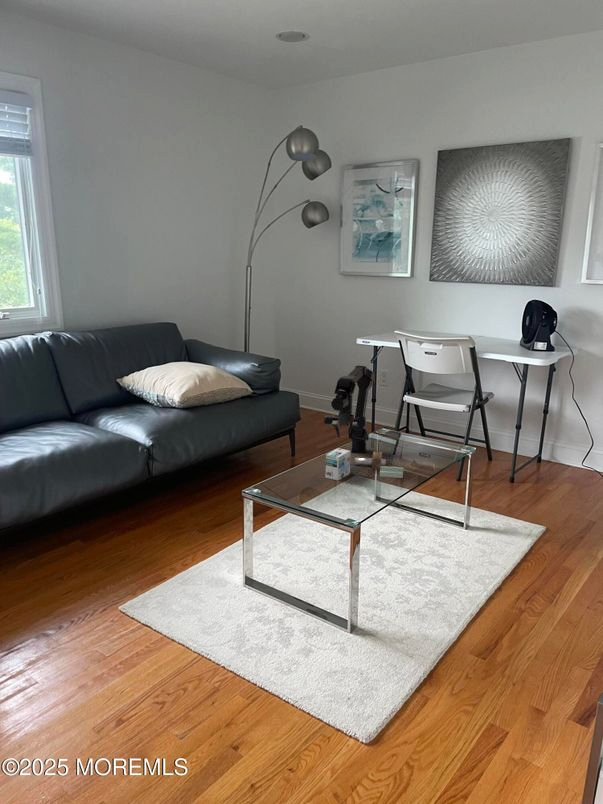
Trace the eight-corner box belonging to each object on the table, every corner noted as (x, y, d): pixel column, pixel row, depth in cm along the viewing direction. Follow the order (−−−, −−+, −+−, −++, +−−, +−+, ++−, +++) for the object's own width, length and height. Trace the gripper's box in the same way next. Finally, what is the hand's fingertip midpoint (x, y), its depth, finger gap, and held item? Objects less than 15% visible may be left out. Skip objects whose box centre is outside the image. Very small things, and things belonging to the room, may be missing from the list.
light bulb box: (338, 481, 261) (338, 457, 259) (324, 477, 265) (325, 454, 262) (350, 473, 270) (351, 450, 267) (337, 470, 274) (338, 447, 271)
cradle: (379, 476, 267) (379, 472, 266) (380, 469, 274) (380, 465, 274) (402, 478, 265) (403, 473, 265) (403, 471, 273) (403, 467, 272)
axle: (354, 466, 280) (354, 460, 279) (355, 461, 283) (355, 455, 281) (385, 468, 278) (385, 462, 276) (385, 464, 281) (386, 457, 279)
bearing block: (371, 468, 276) (372, 458, 274) (373, 461, 285) (373, 451, 284) (380, 469, 275) (381, 459, 274) (381, 461, 284) (382, 452, 283)
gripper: (322, 408, 269) (322, 442, 273) (365, 411, 266) (363, 445, 270) (326, 402, 280) (325, 434, 284) (367, 404, 277) (365, 437, 281)
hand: (344, 438), depth 279 cm, fingers open, 5 cm apart
